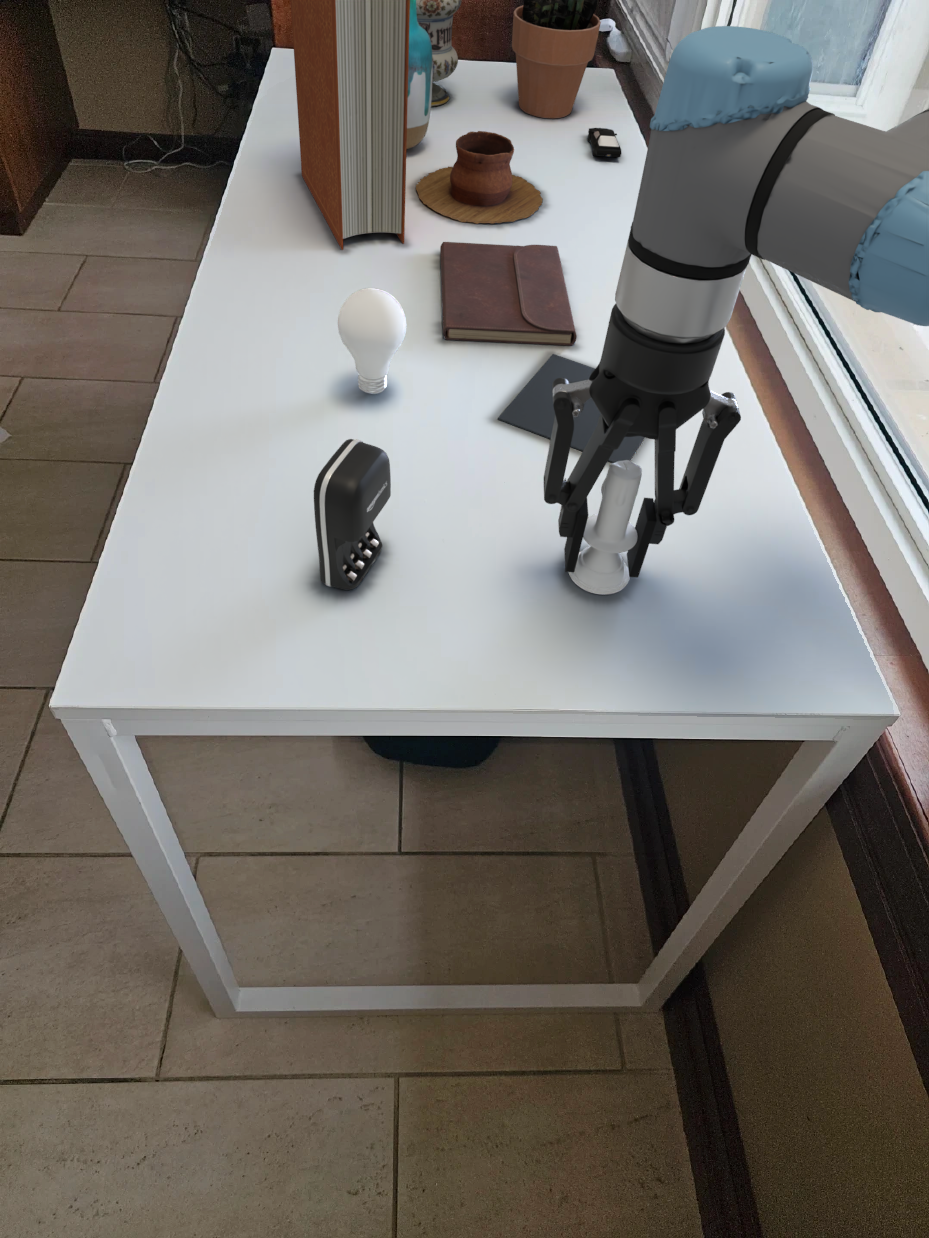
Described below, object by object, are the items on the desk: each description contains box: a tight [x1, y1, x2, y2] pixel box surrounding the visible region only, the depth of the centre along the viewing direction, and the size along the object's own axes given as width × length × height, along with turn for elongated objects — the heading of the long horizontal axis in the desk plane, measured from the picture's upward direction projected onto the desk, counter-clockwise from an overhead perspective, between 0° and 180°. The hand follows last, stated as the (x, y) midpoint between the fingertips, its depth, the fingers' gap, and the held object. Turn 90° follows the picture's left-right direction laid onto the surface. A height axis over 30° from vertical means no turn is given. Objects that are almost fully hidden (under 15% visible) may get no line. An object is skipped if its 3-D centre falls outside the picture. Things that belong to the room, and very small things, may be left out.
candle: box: [568, 460, 643, 596], centre depth 70 cm, size 5×5×12 cm
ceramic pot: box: [415, 130, 543, 225], centre depth 119 cm, size 18×18×7 cm
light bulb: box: [337, 287, 408, 395], centre depth 85 cm, size 7×7×11 cm
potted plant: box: [511, 0, 602, 120], centre depth 135 cm, size 14×14×25 cm
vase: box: [406, 0, 433, 150], centre depth 123 cm, size 11×11×19 cm
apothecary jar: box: [416, 0, 463, 108], centre depth 137 cm, size 12×12×18 cm
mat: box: [497, 353, 646, 464], centre depth 91 cm, size 14×14×1 cm
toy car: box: [587, 127, 622, 158], centre depth 134 cm, size 10×4×3 cm, turn 3°
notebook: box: [439, 241, 578, 347], centre depth 103 cm, size 15×20×2 cm
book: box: [290, 0, 410, 251], centre depth 105 cm, size 23×8×30 cm, turn 20°
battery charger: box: [313, 438, 392, 591], centre depth 69 cm, size 7×4×11 cm, turn 158°
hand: (601, 562), depth 74 cm, fingers closed on candle, 5 cm apart
